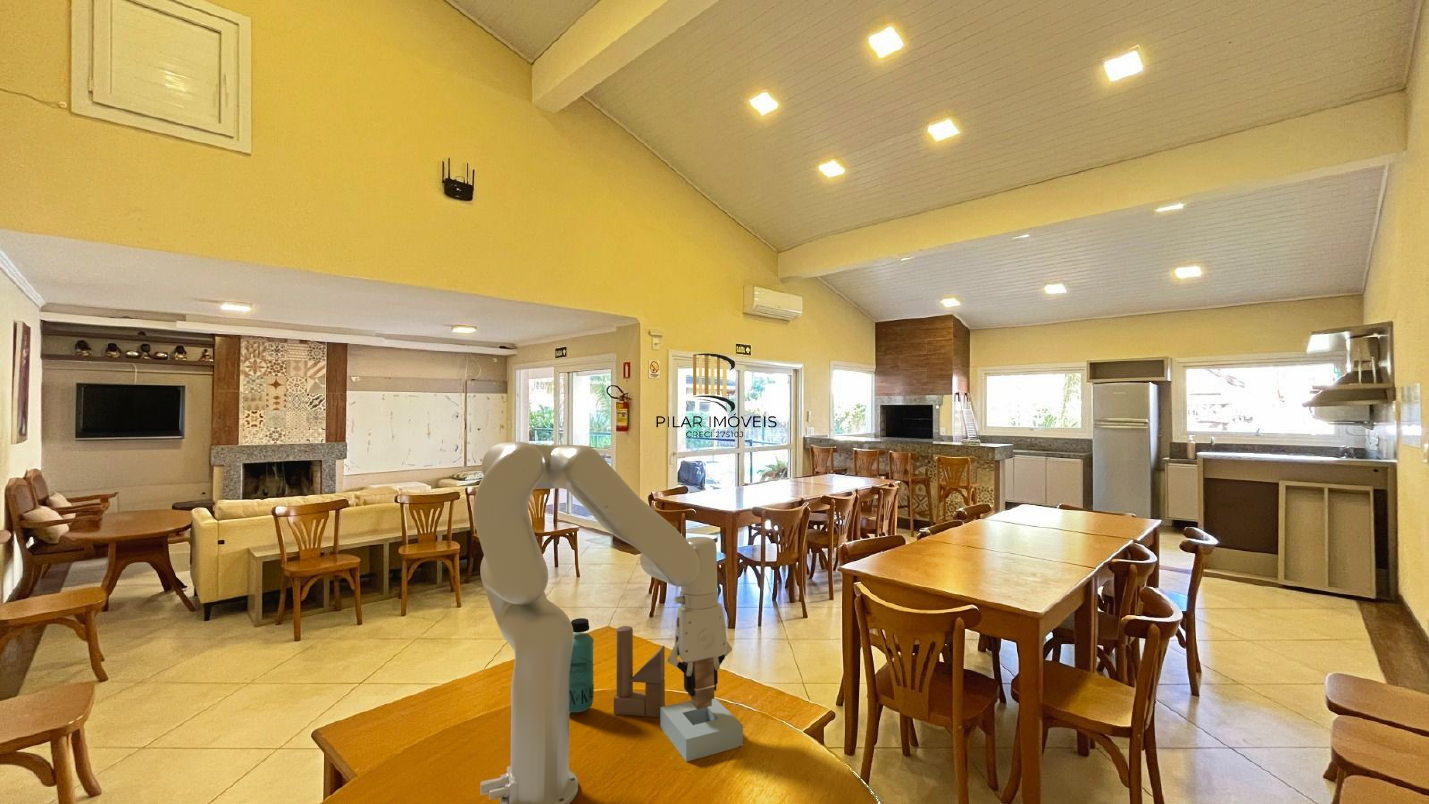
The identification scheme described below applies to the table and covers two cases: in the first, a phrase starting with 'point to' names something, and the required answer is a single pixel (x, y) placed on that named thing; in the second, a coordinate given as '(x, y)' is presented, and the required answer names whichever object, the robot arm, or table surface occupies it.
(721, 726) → the grey square-hole block
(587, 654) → the beverage bottle
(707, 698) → the peg
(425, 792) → the table surface
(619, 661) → the wooden block structure
